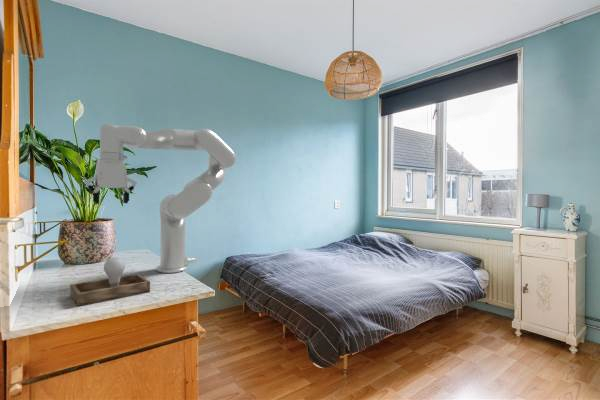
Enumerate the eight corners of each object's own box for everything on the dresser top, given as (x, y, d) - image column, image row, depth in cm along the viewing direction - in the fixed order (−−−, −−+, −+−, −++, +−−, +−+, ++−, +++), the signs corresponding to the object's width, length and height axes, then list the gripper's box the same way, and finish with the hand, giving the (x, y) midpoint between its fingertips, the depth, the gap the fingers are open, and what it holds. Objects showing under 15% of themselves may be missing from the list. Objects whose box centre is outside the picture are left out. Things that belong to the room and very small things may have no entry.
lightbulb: (129, 288, 106) (129, 255, 106) (116, 294, 100) (117, 259, 99) (112, 287, 107) (112, 254, 106) (98, 292, 100) (99, 258, 100)
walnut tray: (138, 283, 114) (138, 273, 114) (149, 291, 105) (150, 281, 105) (70, 295, 100) (70, 284, 100) (77, 306, 91) (77, 294, 91)
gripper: (133, 160, 127) (132, 202, 128) (82, 156, 115) (82, 203, 116) (139, 159, 122) (139, 203, 123) (86, 155, 110) (87, 204, 111)
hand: (111, 203), depth 119 cm, fingers open, 9 cm apart
